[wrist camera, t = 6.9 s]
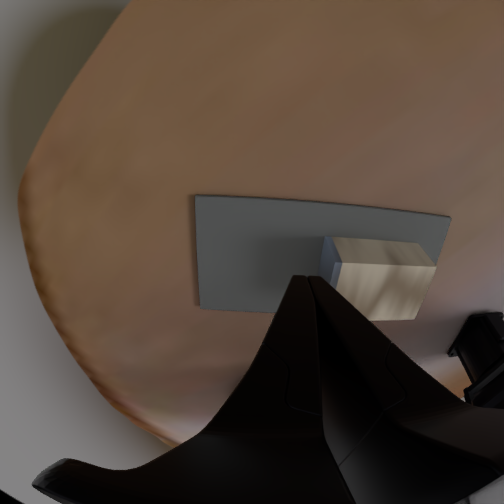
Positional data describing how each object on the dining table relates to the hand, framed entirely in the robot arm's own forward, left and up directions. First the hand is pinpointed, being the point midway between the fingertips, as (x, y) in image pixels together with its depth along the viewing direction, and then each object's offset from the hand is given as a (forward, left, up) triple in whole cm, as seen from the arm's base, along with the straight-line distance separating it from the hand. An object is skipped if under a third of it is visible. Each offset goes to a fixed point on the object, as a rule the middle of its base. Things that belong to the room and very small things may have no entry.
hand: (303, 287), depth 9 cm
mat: (-7, -5, -12) cm, 15 cm away
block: (-7, -4, -10) cm, 13 cm away
